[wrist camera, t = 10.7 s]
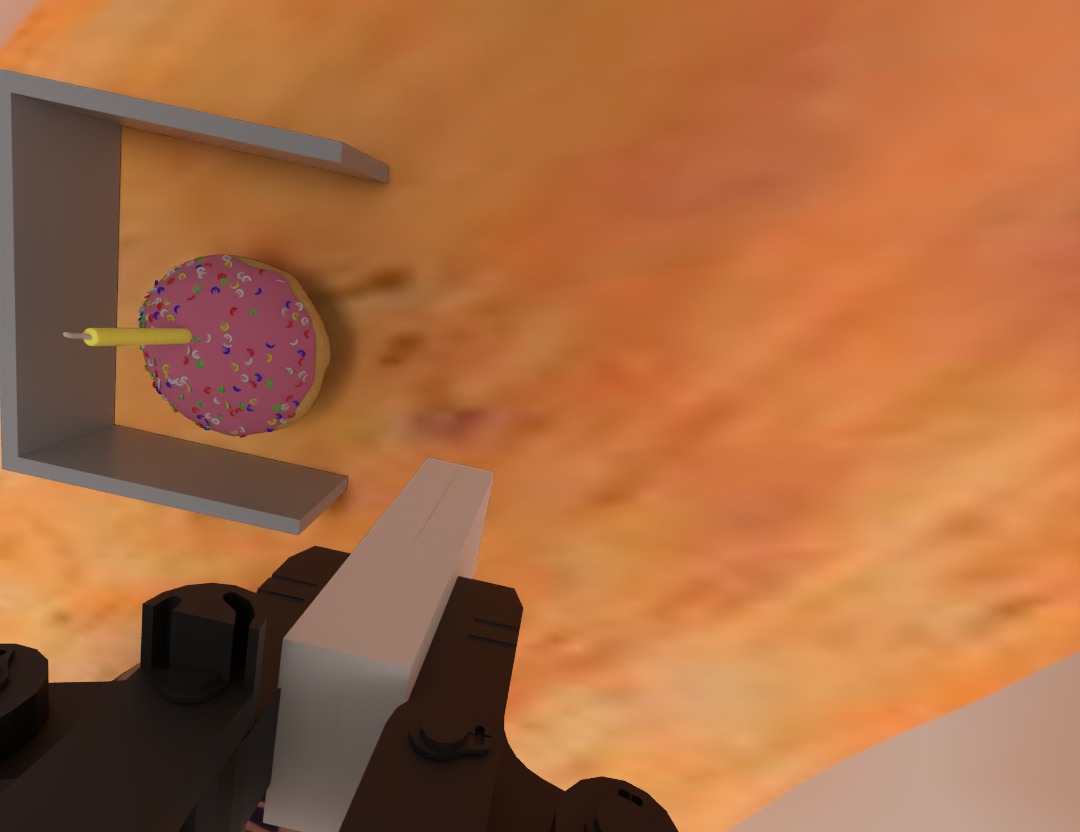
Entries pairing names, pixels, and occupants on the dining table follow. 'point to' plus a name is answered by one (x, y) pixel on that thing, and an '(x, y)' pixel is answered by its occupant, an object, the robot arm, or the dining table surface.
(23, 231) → the box
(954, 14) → the dining table surface
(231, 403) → the cupcake
